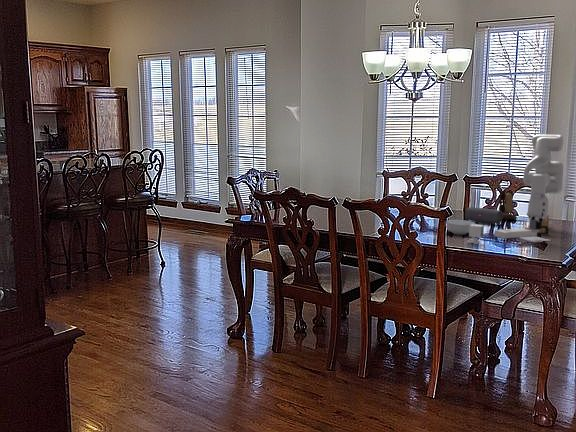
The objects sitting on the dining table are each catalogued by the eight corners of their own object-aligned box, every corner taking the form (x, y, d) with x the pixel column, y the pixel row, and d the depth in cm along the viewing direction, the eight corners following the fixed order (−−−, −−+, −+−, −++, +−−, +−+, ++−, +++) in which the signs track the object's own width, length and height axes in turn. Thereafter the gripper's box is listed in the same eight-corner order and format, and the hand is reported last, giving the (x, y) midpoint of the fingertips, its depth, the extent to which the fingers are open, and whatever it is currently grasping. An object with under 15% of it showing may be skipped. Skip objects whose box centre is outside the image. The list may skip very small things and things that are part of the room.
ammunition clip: (548, 234, 356) (549, 214, 354) (548, 234, 354) (549, 214, 352) (528, 233, 359) (530, 213, 358) (528, 233, 358) (530, 213, 356)
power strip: (526, 233, 357) (527, 226, 357) (536, 235, 350) (537, 229, 349) (494, 236, 349) (494, 229, 348) (503, 238, 341) (504, 231, 341)
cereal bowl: (454, 236, 347) (455, 224, 346) (439, 231, 363) (440, 220, 361) (480, 235, 351) (480, 223, 350) (464, 230, 367) (465, 219, 366)
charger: (536, 231, 340) (536, 219, 339) (541, 232, 336) (542, 220, 335) (529, 231, 338) (529, 220, 337) (534, 233, 335) (535, 221, 334)
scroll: (504, 222, 400) (506, 192, 397) (489, 218, 413) (490, 190, 410) (521, 220, 405) (523, 191, 402) (505, 217, 419) (507, 189, 416)
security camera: (479, 244, 324) (480, 226, 322) (467, 243, 328) (467, 225, 326) (482, 242, 329) (483, 224, 328) (470, 241, 333) (471, 223, 331)
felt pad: (535, 237, 346) (535, 236, 346) (550, 241, 335) (551, 240, 335) (518, 238, 342) (518, 237, 341) (534, 242, 330) (534, 241, 330)
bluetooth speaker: (464, 221, 399) (464, 207, 398) (471, 220, 406) (472, 205, 404) (495, 226, 383) (496, 210, 381) (502, 224, 389) (503, 209, 388)
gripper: (554, 197, 328) (551, 230, 331) (532, 194, 343) (529, 225, 346) (543, 198, 325) (541, 231, 328) (521, 194, 341) (519, 226, 343)
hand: (535, 228), depth 337 cm, fingers closed on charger, 4 cm apart
